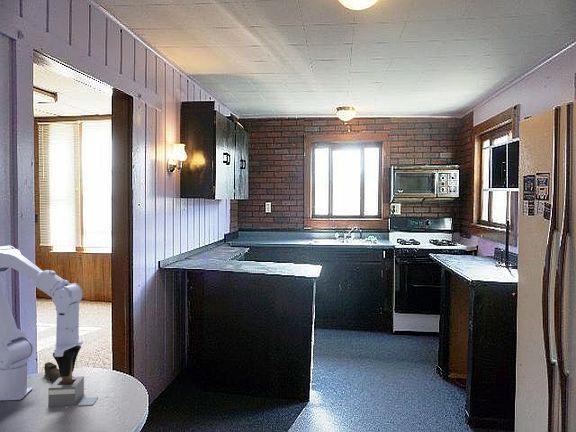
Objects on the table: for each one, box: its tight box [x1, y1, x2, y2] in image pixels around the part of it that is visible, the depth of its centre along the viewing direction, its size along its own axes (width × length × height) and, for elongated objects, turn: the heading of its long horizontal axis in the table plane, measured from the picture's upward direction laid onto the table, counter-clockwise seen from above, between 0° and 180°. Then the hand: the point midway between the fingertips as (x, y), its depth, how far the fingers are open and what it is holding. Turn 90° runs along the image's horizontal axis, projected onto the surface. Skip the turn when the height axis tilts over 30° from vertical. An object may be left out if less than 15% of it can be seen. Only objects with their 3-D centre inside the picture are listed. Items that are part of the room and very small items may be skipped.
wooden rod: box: [62, 364, 73, 385], centre depth 126 cm, size 3×3×9 cm
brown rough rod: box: [43, 361, 74, 382], centre depth 140 cm, size 19×4×5 cm, turn 47°
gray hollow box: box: [47, 376, 85, 407], centre depth 126 cm, size 7×8×5 cm
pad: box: [77, 396, 99, 407], centre depth 125 cm, size 4×5×1 cm
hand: (67, 374), depth 126 cm, fingers closed on wooden rod, 3 cm apart
